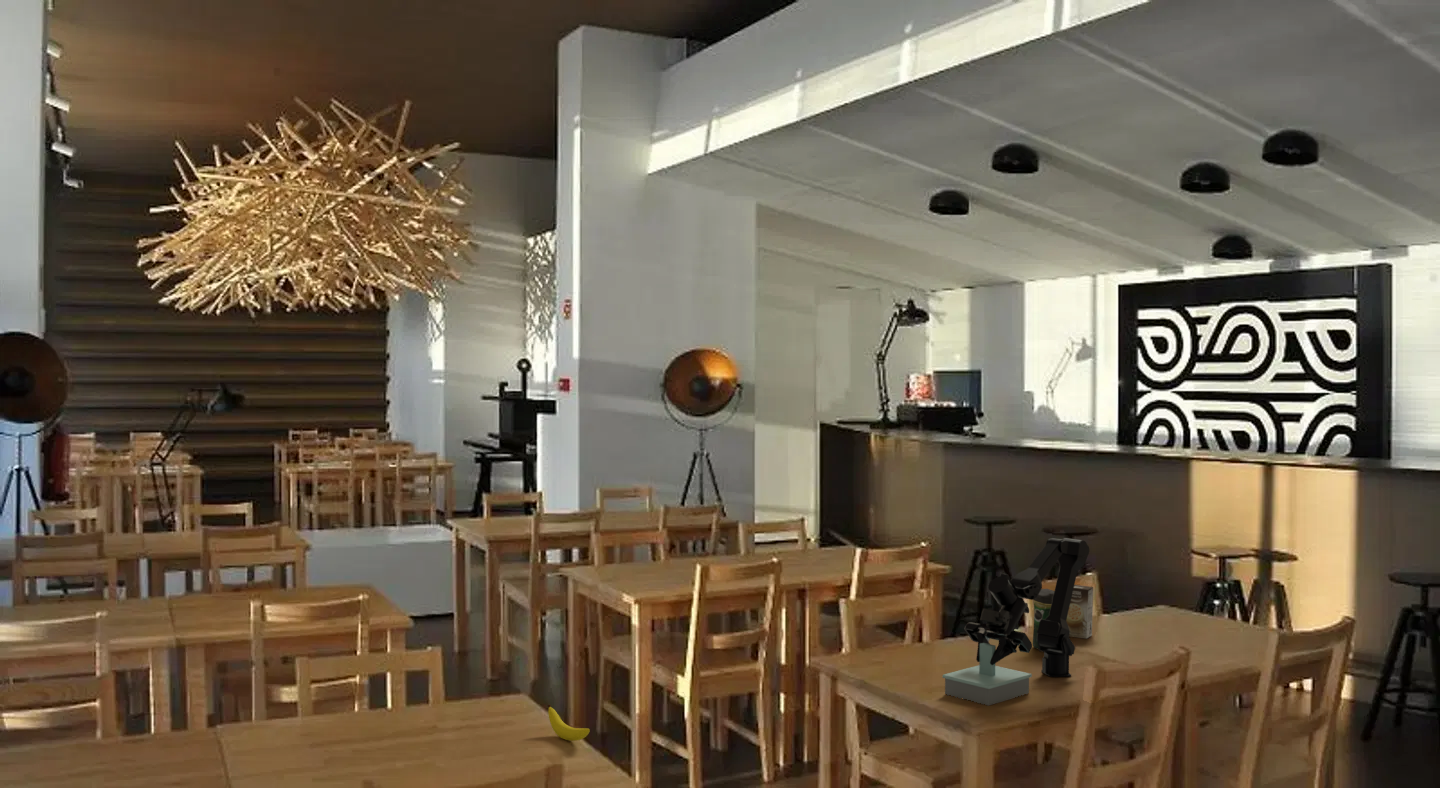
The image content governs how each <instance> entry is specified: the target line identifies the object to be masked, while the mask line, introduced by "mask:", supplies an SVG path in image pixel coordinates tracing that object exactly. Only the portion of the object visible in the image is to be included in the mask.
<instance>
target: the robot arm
mask: <svg viewBox="0 0 1440 788" xmlns="http://www.w3.org/2000/svg"><path fill="white" fill-rule="evenodd" d="M1089 554H1090V546H1089V545H1088V543H1087V542H1086V540H1082V539H1076V538H1068V537H1063V538H1053V537H1052V538H1048V539H1047V541H1046V543H1045V546H1044V547H1043V548H1042V550H1041V551H1040V552H1039V553H1038V555H1037V556H1036V557H1035V559H1034V560H1033V561H1032V562H1031V563H1030V565H1029V566H1028V567H1027V568H1026V569H1025V570H1021V571H1019V572H1018V573H1016V575H1014V577H1012V578H1011V577H1010V576H1009V573H1008V574H1007V573H1001V574H1000V576H997V577H995V578H993V579H992V580H990V582H989V583H988V588H987V589H988V590H989V593H991V595H992V596H993V598H994V599H995V601H996V602H997V604H998V605H1000V606H1001V608H1000V609H999V611H997V610H992V609H987V608H982V611H981V615H980V619H979V620H980V621H981V622H984V623H986V624H985V626H986V628H988V629H989V630H987V629H986V628H984V627H983V626H982V624H981V623H977V622H976V623H975V622H972V621H970V622H967V623H966V625H965V626H964V628H963V630H964V631H965V632H966V634H967V636H969V638H970V640H971V641H972V642H974V643H977V651H976V659H975V660H976V662H978V663H979V662H980V644H981V643H986V644H990V640H993V641H994V640H995V641H998V645H997V646H996V650H995V652H994V654H993V656H992V658H991V661H990V664H991V665H994V664H995V665H996V664H997V663H998V662H1000V661H1001V660H1002V659H1004V658H1006V657H1008V656H1010V655H1012V654H1013V653H1014V654H1016V653H1017V652H1018V651H1017V647H1018V650H1019V651H1020V652H1022V653H1026V654H1029V653H1030V652H1031V650H1032V648H1033V642H1032V641H1031V639H1029V637H1028V636H1027V634H1026V632H1022V631H1018V630H1019V628H1020V625H1019V622H1020V620H1021V619H1022V616H1023V615H1024V614H1029V613H1030V609H1029V606H1028V605H1029V604H1028V602H1025V600H1024V599H1026V600H1029V601H1030V600H1031V601H1033V600H1034V599H1035V598H1036V597H1037V596H1038V594H1039V592H1040V591H1041V589H1043V585H1042V584H1043V580H1044V579H1045V577H1046V576H1047V574H1048V573H1049V572H1050V570H1052V568H1053V567H1054V565H1055V564H1056V563H1057V562H1058V565H1059V570H1058V575H1057V578H1056V579H1057V580H1056V582H1055V588H1054V590H1053V591H1054V595H1053V600H1052V604H1051V608H1050V612H1049V616H1048V617H1047V618H1046V619H1045V620H1043V619H1041V620H1040V622H1039V628H1038V631H1037V642H1038V646H1039V649H1038V650H1039V652H1043V657H1042V659H1041V662H1042V663H1041V665H1042V666H1041V667H1042V668H1041V673H1043V674H1045V675H1047V677H1049V678H1055V677H1057V678H1058V677H1062V678H1063V677H1065V678H1066V677H1072V673H1070V657H1072V656H1073V655H1074V654H1075V649H1076V645H1074V642H1073V641H1072V640H1071V639H1070V636H1069V633H1070V630H1069V627H1068V624H1067V621H1066V620H1067V615H1068V611H1069V606H1070V602H1071V597H1072V593H1073V589H1074V585H1076V584H1075V583H1076V579H1077V575H1078V572H1079V571H1080V570H1081V569H1082V568H1083V566H1085V565H1086V562H1087V559H1088V557H1089Z"/></svg>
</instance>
